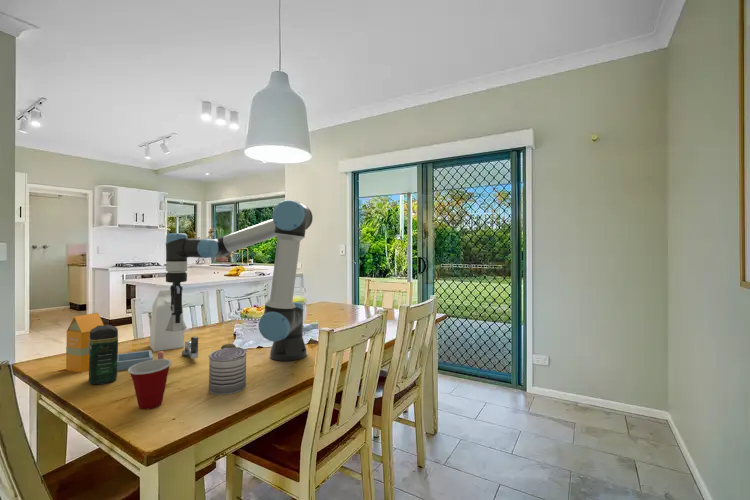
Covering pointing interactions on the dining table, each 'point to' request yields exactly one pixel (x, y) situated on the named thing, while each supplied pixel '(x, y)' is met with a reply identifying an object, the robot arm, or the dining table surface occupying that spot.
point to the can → (227, 371)
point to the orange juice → (80, 341)
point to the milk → (164, 324)
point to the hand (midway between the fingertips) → (176, 329)
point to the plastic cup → (150, 382)
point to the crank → (192, 347)
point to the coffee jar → (103, 354)
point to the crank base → (185, 353)
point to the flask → (170, 324)
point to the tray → (132, 359)
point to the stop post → (161, 355)
